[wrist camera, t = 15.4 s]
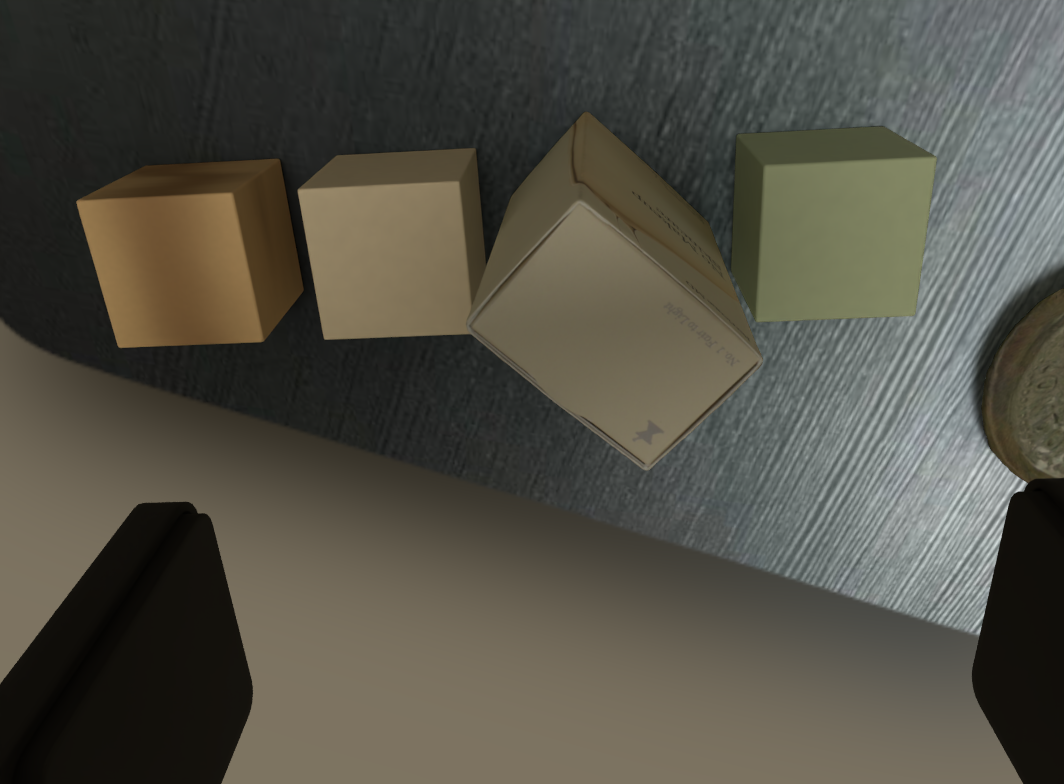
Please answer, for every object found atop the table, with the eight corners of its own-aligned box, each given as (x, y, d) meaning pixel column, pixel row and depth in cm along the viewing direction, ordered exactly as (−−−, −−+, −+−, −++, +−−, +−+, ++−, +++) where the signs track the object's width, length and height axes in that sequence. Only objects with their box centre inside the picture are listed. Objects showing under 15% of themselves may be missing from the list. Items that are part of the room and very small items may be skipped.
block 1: (176, 296, 34) (117, 348, 30) (144, 165, 32) (74, 200, 28) (304, 291, 34) (263, 342, 29) (280, 158, 32) (231, 192, 27)
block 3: (730, 272, 33) (755, 323, 28) (735, 133, 31) (763, 165, 26) (868, 266, 33) (915, 317, 28) (884, 125, 30) (938, 156, 26)
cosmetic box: (711, 222, 32) (781, 363, 21) (626, 308, 34) (650, 481, 23) (580, 103, 30) (583, 189, 20) (498, 200, 32) (459, 330, 21)
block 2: (356, 288, 34) (323, 340, 29) (335, 154, 32) (296, 189, 27) (487, 282, 33) (474, 334, 29) (476, 147, 31) (459, 180, 27)
